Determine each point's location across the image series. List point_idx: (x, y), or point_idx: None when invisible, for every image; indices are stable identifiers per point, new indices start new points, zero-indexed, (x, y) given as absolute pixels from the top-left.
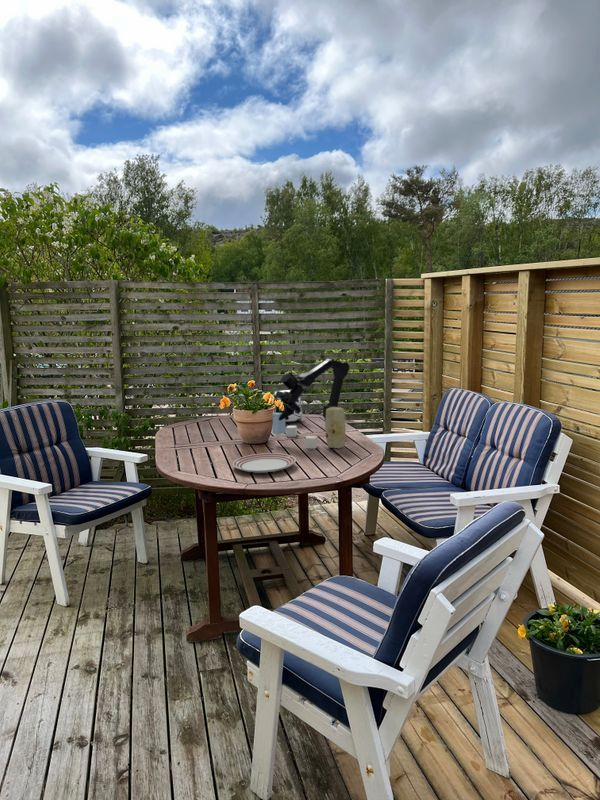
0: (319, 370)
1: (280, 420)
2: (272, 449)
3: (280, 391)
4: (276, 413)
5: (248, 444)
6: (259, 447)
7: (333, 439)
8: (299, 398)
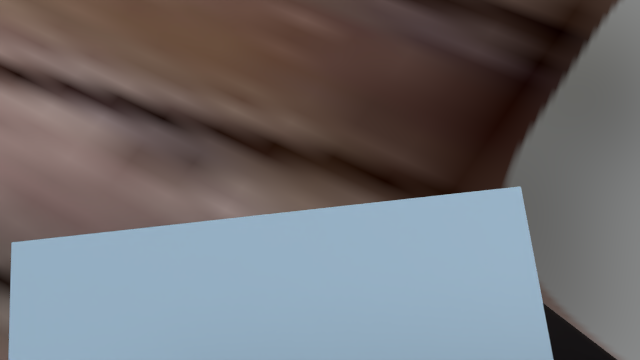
0: None
1: None
2: (136, 148)
3: None
4: (319, 341)
5: (572, 8)
6: (335, 58)
7: None
8: None
